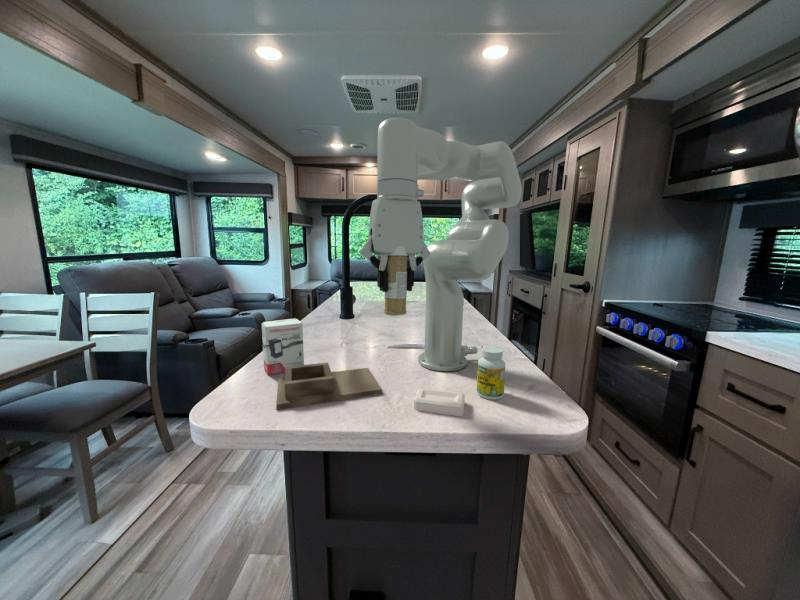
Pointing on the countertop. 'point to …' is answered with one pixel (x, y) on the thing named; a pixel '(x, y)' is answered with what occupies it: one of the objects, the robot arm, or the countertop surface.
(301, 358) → the ink box
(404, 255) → the sprinkles bottle
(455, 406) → the white soap dish
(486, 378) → the supplement bottle
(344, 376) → the caddy board
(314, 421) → the countertop surface
